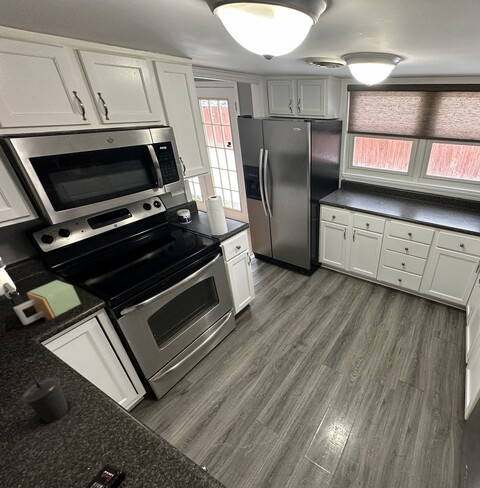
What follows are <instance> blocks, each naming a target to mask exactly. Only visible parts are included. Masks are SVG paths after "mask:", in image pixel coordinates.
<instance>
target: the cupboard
mask: <svg viewBox="0 0 480 488" xmlns="http://www.w3.org/2000/svg"><path fill="white" fill-rule="evenodd" d="M28 292H30V293H32V294H35V295H37V296H40V297H42V298H45V299H46V301H47V303H48V305H49V307H50V309H51V311H52V313H53V314H54V316H55V317H54V318H56V317H58V316H60V315H62V314H65V313H66V312H68V311H70V310H72V309H74V308H75V307H77V306H79V305H81V304H82V303H81V300H80V298H79V296H78V294H77V292H76V290H75V287H74V286H73V285H72V284H69V283H66V282H63V281H61V280H58V279H55V280H53V281H51V282H49V283H45V284H43V285H41V286H39V287H36V288H34V289H32V290H29V291H28Z"/></svg>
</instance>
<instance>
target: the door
mask: <svg viewBox="0 0 480 488" xmlns="http://www.w3.org/2000/svg"><path fill="white" fill-rule="evenodd" d="M26 295H27V297H28V299H29V300H27V301H25V302H23V303H22V304H20V305H17V306H15V307H13V310H14V312H15V314H16V315H17V317H18V318H19V320H20V322H21V323H22V325H23V326H27V325H29V324H31V323H33V322H35V321H37V320H39V319H41V318H44V319H47V320H49V321H50V320H52V319H55V318H56V317H55V316H54V314H53V313H52V311H51V309H50V307H49V305H48V303H47V301H46V299H45V298H42V297H40V296H37V295H35V294H32V293H30V292H29V291H28V292H26ZM32 306H33V307H34V309H35V311H36V313H35V314H32V315H31V316H29V317H27V316H26V314H25V313H24V311H23V310H25V309H28V308H30V307H32Z"/></svg>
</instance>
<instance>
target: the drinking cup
mask: <svg viewBox="0 0 480 488" xmlns="http://www.w3.org/2000/svg"><path fill="white" fill-rule="evenodd" d="M28 375H29V376H30V378H31V380H32V381H33V382H34V384H33V385H32V386H30V387H29V388H27V390H25V391H24V393H23V394H22V395H21V396H22V397H21V400H22V401H23V403H26V404H27V405H28V406H29V407H30V408H31V409H32V410H33V411H34V412H35V413H36V414H37V415H38V416H39V417H40V418H41V419H42V420H43V421H44V422H46V423H50V422H54V421H57V420H59V418H61V417H62V416H63V415H65V414H66V413H67V411H68V409H69V405H68V402H67V399H66V397H65V395H64V392H63V390H62V387H61V385H60V379H59V378H57V377H48V378H45V379H43V380H40V381H39V380H38V379H37V377H36V375H35V374H34V373H33V371H31V372H29V373H28Z"/></svg>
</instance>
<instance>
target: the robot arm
mask: <svg viewBox="0 0 480 488" xmlns="http://www.w3.org/2000/svg"><path fill="white" fill-rule="evenodd" d="M6 267H7V266H6V264H5V262H4V261H3V259H2V257H1V256H0V302H2V301H5V300H6V299H7V301H8V302H9V304H10V305H11V307H12V308H14V307H16V306H18V305H20V304H23V303H24V300H23V299H22V297H21V295H20V294H19V292H18V291H17V287H16V285H15V283H14V281H13V280H12V279H11V277H10V276H9V274H8V272H7V271H6V270H5V268H6Z"/></svg>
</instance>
